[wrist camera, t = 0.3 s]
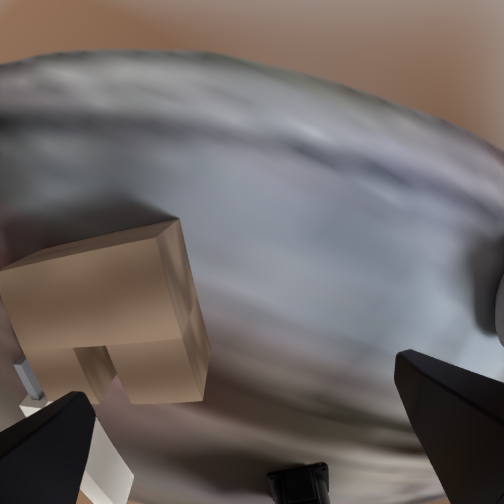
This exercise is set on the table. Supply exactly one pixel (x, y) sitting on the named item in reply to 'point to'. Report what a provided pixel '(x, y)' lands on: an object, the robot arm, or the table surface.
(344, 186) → the table surface
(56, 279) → the tan notched block
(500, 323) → the coffee pot
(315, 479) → the robot arm
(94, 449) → the white curved bar
